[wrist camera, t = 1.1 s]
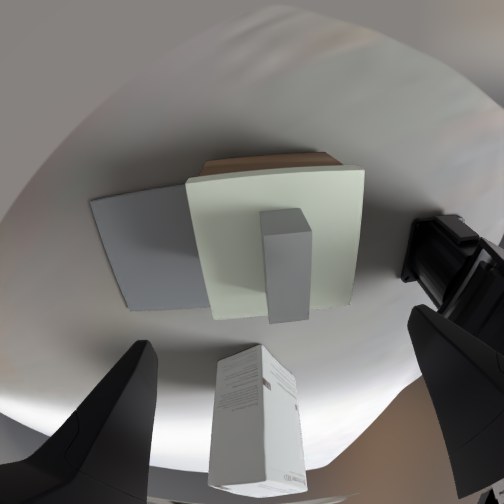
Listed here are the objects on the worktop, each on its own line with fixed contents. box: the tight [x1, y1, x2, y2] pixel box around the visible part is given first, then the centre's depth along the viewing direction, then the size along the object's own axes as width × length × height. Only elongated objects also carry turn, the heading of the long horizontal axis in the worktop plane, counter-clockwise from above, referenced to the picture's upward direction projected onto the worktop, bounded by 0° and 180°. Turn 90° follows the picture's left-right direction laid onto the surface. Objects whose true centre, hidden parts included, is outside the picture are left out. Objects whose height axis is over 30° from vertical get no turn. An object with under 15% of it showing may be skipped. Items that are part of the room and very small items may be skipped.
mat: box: [90, 184, 211, 311], centre depth 22 cm, size 11×16×1 cm
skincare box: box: [208, 345, 308, 498], centre depth 24 cm, size 8×6×15 cm
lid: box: [185, 165, 365, 324], centre depth 15 cm, size 9×9×4 cm
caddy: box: [198, 152, 343, 177], centre depth 18 cm, size 8×8×5 cm
